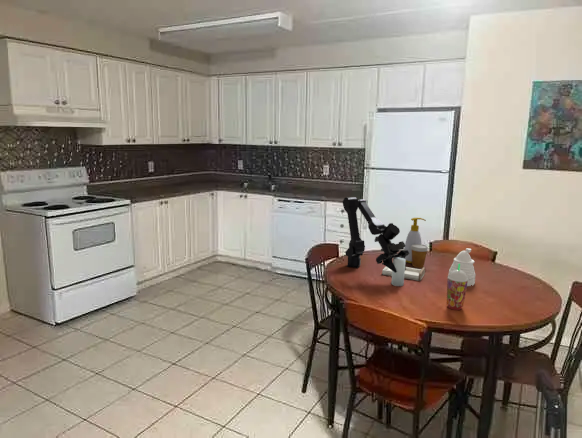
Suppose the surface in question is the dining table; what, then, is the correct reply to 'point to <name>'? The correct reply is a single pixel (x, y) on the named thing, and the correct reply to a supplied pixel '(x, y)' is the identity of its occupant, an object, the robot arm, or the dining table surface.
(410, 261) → the soap bottle
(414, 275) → the drawer
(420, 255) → the disposable coffee cup
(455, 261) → the honey pot
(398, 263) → the white rounded wedge
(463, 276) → the smoothie
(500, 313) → the dining table surface
